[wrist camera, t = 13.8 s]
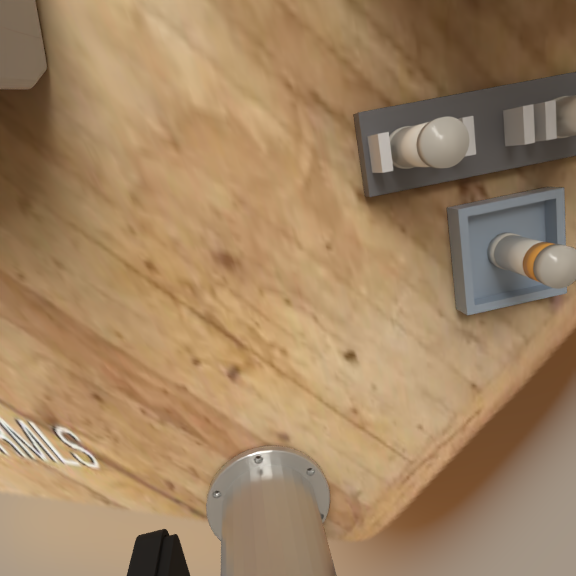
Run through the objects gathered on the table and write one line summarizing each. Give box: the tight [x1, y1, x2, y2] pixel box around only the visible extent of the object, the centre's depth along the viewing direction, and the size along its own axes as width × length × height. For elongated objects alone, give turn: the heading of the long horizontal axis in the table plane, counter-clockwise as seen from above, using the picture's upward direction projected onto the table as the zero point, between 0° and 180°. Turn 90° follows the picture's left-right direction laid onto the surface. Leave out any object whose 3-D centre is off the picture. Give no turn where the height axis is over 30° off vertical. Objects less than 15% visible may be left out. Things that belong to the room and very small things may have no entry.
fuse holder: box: [354, 72, 576, 197], centre depth 39 cm, size 7×21×4 cm, turn 100°
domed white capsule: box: [389, 117, 469, 169], centre depth 36 cm, size 3×3×8 cm
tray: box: [447, 187, 567, 315], centre depth 44 cm, size 10×10×2 cm
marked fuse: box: [487, 232, 576, 289], centre depth 40 cm, size 3×3×8 cm
